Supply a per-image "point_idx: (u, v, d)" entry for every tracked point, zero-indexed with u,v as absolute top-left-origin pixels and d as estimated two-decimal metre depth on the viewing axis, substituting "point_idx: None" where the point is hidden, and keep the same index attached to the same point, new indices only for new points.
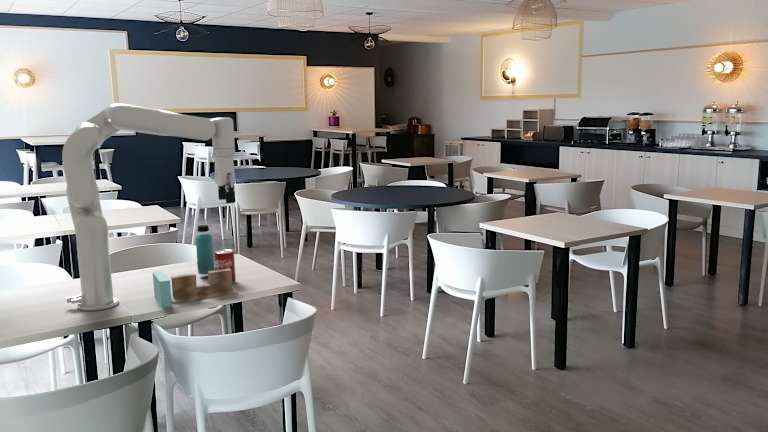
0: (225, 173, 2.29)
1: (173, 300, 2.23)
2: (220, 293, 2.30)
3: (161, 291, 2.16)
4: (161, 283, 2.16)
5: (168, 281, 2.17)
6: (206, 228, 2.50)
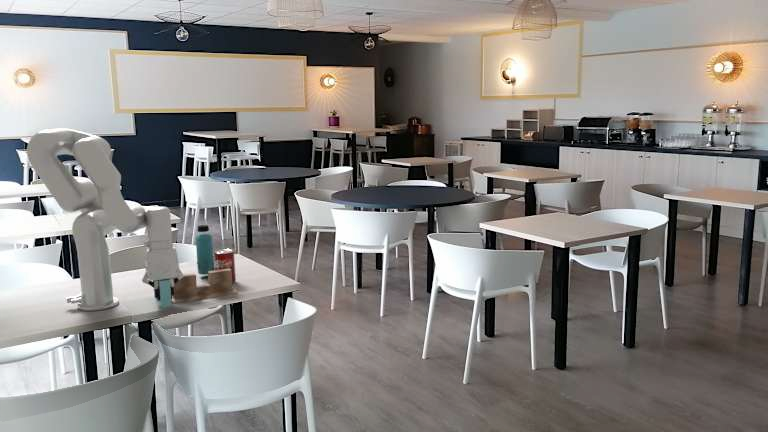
0: (178, 263, 2.19)
1: (173, 300, 2.23)
2: (220, 293, 2.30)
3: (161, 291, 2.16)
4: (161, 283, 2.16)
5: (168, 281, 2.17)
6: (206, 228, 2.50)
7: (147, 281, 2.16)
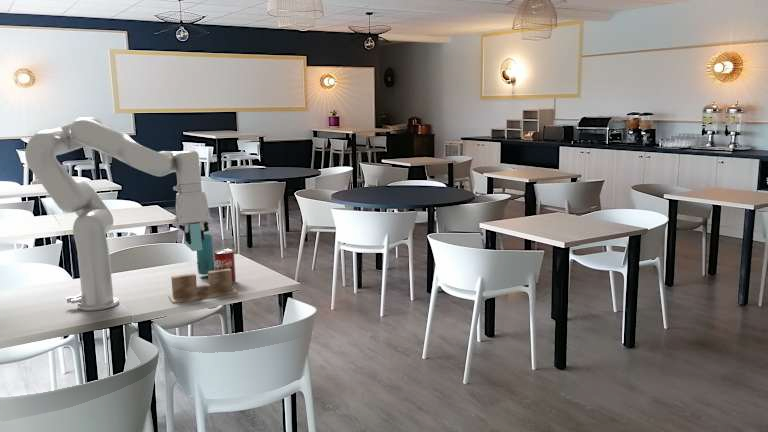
0: None
1: (173, 300, 2.23)
2: (220, 293, 2.30)
3: (191, 234, 2.18)
4: (191, 226, 2.17)
5: (198, 224, 2.18)
6: (206, 228, 2.50)
7: (177, 225, 2.18)
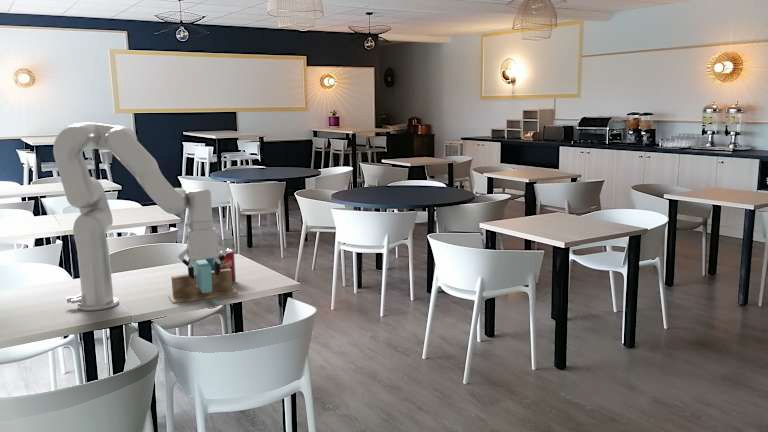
0: None
1: (173, 300, 2.23)
2: (220, 293, 2.30)
3: (202, 277, 2.21)
4: (202, 269, 2.20)
5: (209, 267, 2.21)
6: None
7: (182, 258, 2.20)
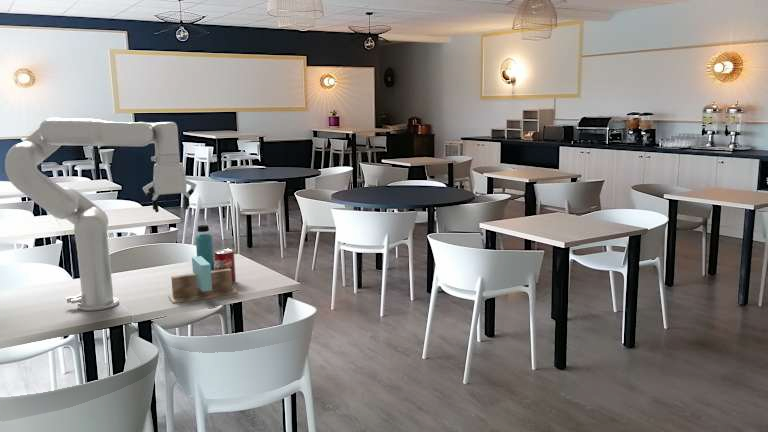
0: None
1: (173, 300, 2.23)
2: (220, 293, 2.30)
3: (202, 275, 2.21)
4: (202, 267, 2.21)
5: (209, 265, 2.22)
6: (206, 228, 2.50)
7: (146, 191, 2.18)
